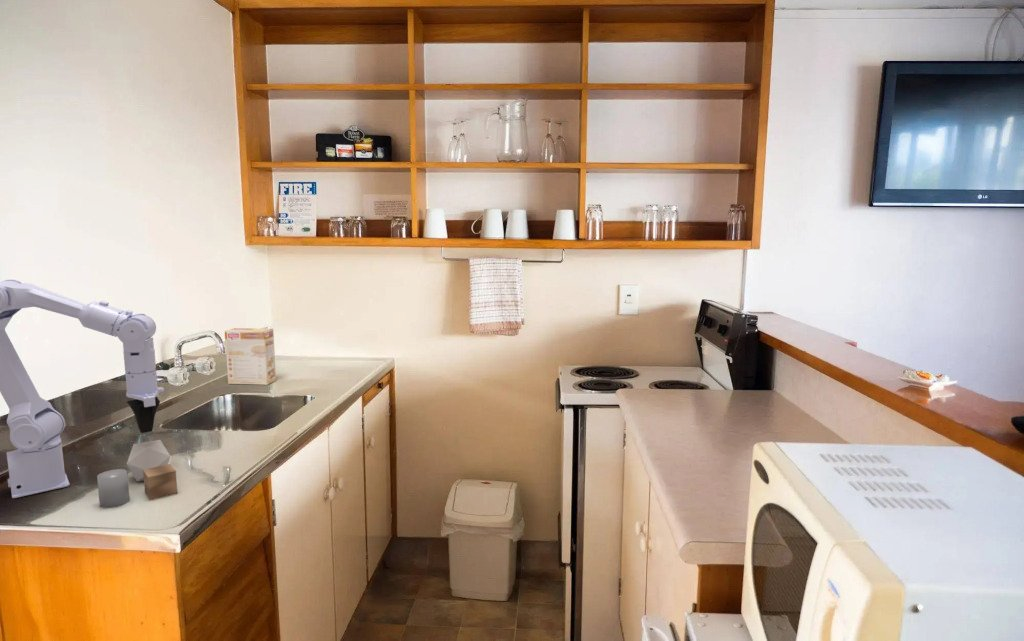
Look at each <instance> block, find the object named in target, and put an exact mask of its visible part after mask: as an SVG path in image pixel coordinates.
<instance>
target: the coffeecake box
mask: <svg viewBox="0 0 1024 641" xmlns="http://www.w3.org/2000/svg"><path fill="white" fill-rule="evenodd" d="M274 338H275V336H274V329H273V328H249V327H248V328H243V327H240V328H239V327H236V328H234V327H233V328H230V329H227V330H224V339H225V340H224V341H225V354H226V355H225V356H226V358H225V359H226V370H227V371H226V372H227V384H228V385H259V386H268V385H270V384H272V383H274V382H277V374H276V373H277V371H276V356H275V355H276V352H275V339H274Z"/></svg>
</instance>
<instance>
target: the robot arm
mask: <svg viewBox="0 0 1024 641" xmlns="http://www.w3.org/2000/svg"><path fill="white" fill-rule="evenodd" d="M26 308H27V309H28V308H37V309H38V308H39V309H41V310H42V309H43V310H45V311H49V312H53V313H56V314H60V315H63V316H67V317H71V318H74V319H77V320H78V321H79V323H80V324H81V326H82V327H84V328H87V329H89V330H93V331H96V332H99V333H103V334H105V335H108V336H112V337H115V338H116V337H117V338H118V339H119V340H120V341H121V343H122V347H123V348H122V349H123V360H124V361H123V362H124V373H125V374H124V375H125V384H126V385H125V386H126V392H125V396H126V397H127V398H129V399H132V400H127V401H126V403H127V405H128V406H129V407H130V409H131V411H132V413H133V415H134V417H135V420H136V424H137V427H138V430H139V432H140V433H141V434H145V433H150V432H153V429H154V425H155V424H154V422H155V416H156V413H157V409H158V408H159V405H160V403H161V401H160V399H159V398H158V397H157V396H158V395H159V394H160V393H163V392H165V388H164V387H162V386H158V376H157V363H156V362H157V361H156V353H155V352H156V351H155V350H156V349H155V344H154V337H153V336H155V333H156V331H157V326H156V322H155V321H154V319H153V318H152V317H150V316H149V315H146V314H145V313H136V314H133V311H132V310H130V309H126V310H123V309H119V308H116V307H114V306H110V305H109V302H108V301H105V300H102V301H99V302H98V301H93V302H89V303H87V304H85V303H83V302H79V301H77V300H75V299H72V298H69V297H67V296H64V295H61V294H58V293H56V292H53V291H50V290H48V289H45V288H43V287H39V286H37V285H36V284H35V285H34V284H33V283H28V282H22V281H20V280H18V279H17V280H16V279H5V280H2V281H1V280H0V395H1V396H2V397H3V400H4V402H5V403H6V404H5V405H7V407H8V409H9V411H8V415H7V418H6V423H7V425H8V429H9V440H10V443H11V444H12V445H13V447H15V448H16V449H14V450H11V451H7V452H6V460H7V467H8V475H9V477H8V478H7V484H8V485H7V486H8V488H10V492H11V498H12V499H17V498H21V497H25V496H26V497H27V496H31V495H35V494H39V493H44V492H48V491H53V490H57V489H61V488H62V489H63V488H66V487H69V486H70V481H69V478H68V475H67V473H66V471H65V463H64V453H63V444H62V443H63V442H62V438H61V434H62V433H63V431H64V430H65V427H66V420H65V417H64V415H62V414H61V413H60V412H58V411H57V410H56V409H55V408H54V407H53V405H52V403H51V402H50V401H48V400H46V399H44V398H42V397H41V396H40V394H39V392H38V390H37V389H36V387H35V384H34V383H33V381H32V378H31V376H30V375H29V373H28V371H27V370H26V368H25V366H24V364H23V362H22V360H21V358H20V356H19V354H18V352H17V351H16V348H15V347H14V345H13V343H12V341H11V339H10V337H9V335H8V333H7V331H6V327H8V324H9V322H10V321H11V320H12V318H13V316H15V315H16V314H17V313H18V312H19V311H21V310H22V309H26Z"/></svg>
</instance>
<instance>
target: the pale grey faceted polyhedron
mask: <svg viewBox="0 0 1024 641" xmlns="http://www.w3.org/2000/svg"><path fill="white" fill-rule="evenodd" d="M170 459H171V455H170V453H169V451H168V450H167V448H166V447H165V445H164V444H163V442H162V441H161V439H156V440H151V441H145V442H144V441H143V442H138V443H133V445H132V447H131V450H130V453H129V456H128V459H127V462H126V466H127V467H128V469H129V471H130V472H131V474H132V476H133V477H134V479H135V481H136V482H137V483H138V482H144V476H143V470H145V469H149V468H154V467H158V466H163V465H167V464H169V462H170Z"/></svg>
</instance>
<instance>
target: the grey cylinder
mask: <svg viewBox="0 0 1024 641" xmlns="http://www.w3.org/2000/svg"><path fill="white" fill-rule="evenodd" d="M96 479H97V489H98V498H99V499H98V500H99V501H98V502H99V506H100V508H103V509H114V508H117V507H121V506H123V505H126V504H127V503H129V501H130V498H131V497H130V489H129V478H128V470H126V469H123V468H116V469H110V470H106V471H103V472H101V473H99V474H98V475H96Z"/></svg>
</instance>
